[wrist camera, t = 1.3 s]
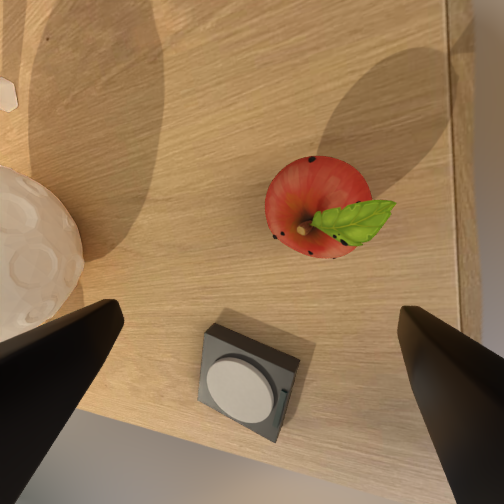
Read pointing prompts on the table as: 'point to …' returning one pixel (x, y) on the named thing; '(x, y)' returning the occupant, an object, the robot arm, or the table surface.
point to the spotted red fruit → (323, 207)
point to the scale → (246, 380)
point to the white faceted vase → (7, 95)
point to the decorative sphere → (34, 254)
